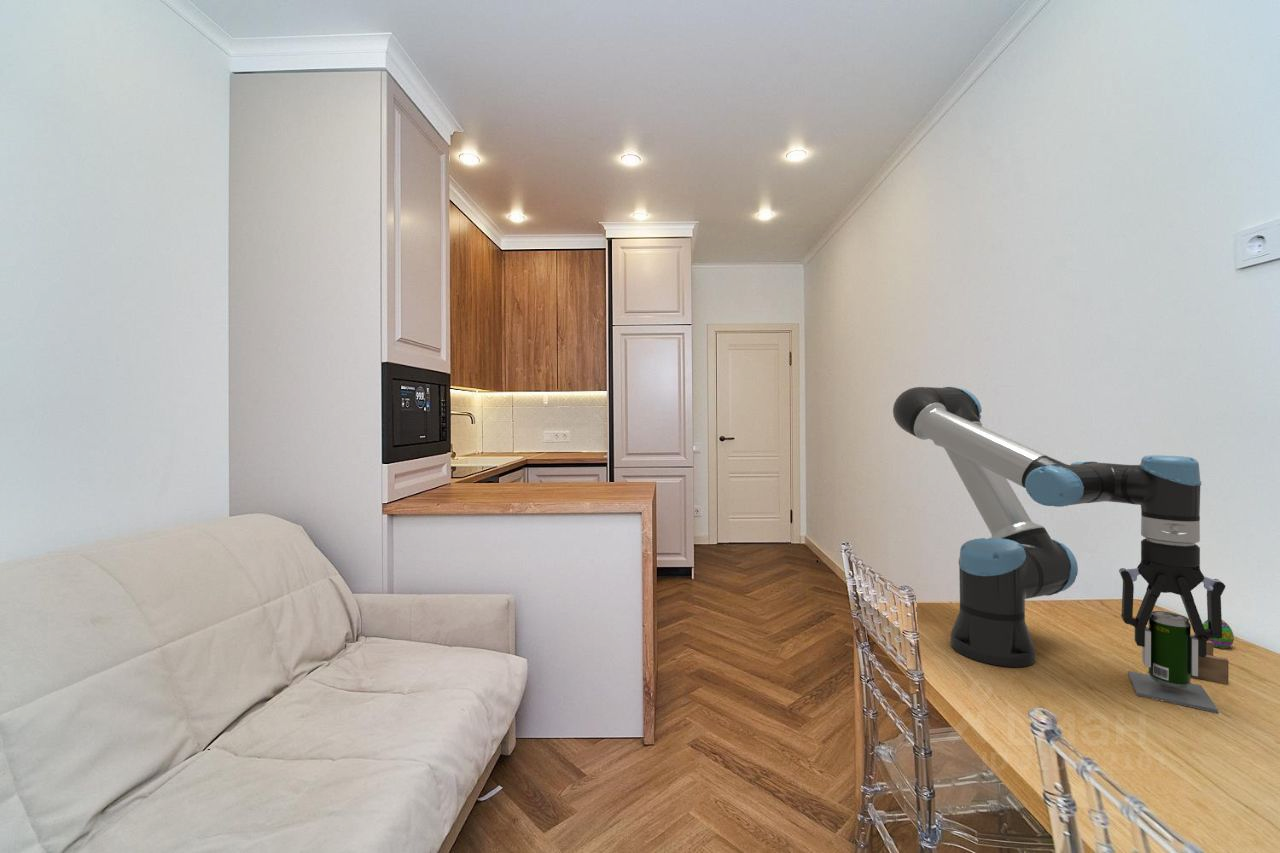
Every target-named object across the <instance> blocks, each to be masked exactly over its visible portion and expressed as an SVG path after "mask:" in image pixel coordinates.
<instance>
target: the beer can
mask: <svg viewBox="0 0 1280 853" xmlns="http://www.w3.org/2000/svg"><path fill="white" fill-rule="evenodd" d="M1148 628H1149V630H1150V631H1151V667H1148V671H1147V672H1148V675H1150V676H1151V678H1152V679H1153V680H1154V681H1156V682H1158V683H1161V684H1164V685H1167V686H1171V687H1177V688H1186V687H1188V685H1189V684H1190V683H1191V677H1190V637H1191V634H1192V632H1191V628H1192V626H1191V623H1190V620H1189V617H1188V616H1185V615H1182V614H1179V613H1176V612H1170V611H1163V610H1153V611H1152V613H1151V616H1150V618H1149V621H1148Z"/></svg>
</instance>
